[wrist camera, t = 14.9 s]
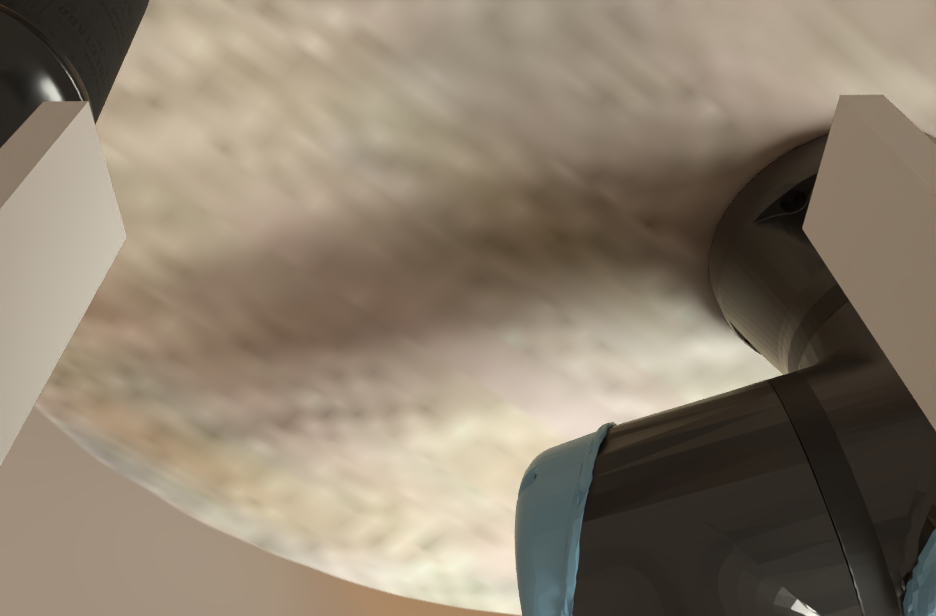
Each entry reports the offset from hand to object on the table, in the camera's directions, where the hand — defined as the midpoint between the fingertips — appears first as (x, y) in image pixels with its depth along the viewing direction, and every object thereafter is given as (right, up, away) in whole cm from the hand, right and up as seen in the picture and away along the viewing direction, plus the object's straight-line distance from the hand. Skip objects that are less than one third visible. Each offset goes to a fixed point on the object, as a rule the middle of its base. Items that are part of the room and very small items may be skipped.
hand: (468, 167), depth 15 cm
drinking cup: (-17, +13, +23) cm, 31 cm away
